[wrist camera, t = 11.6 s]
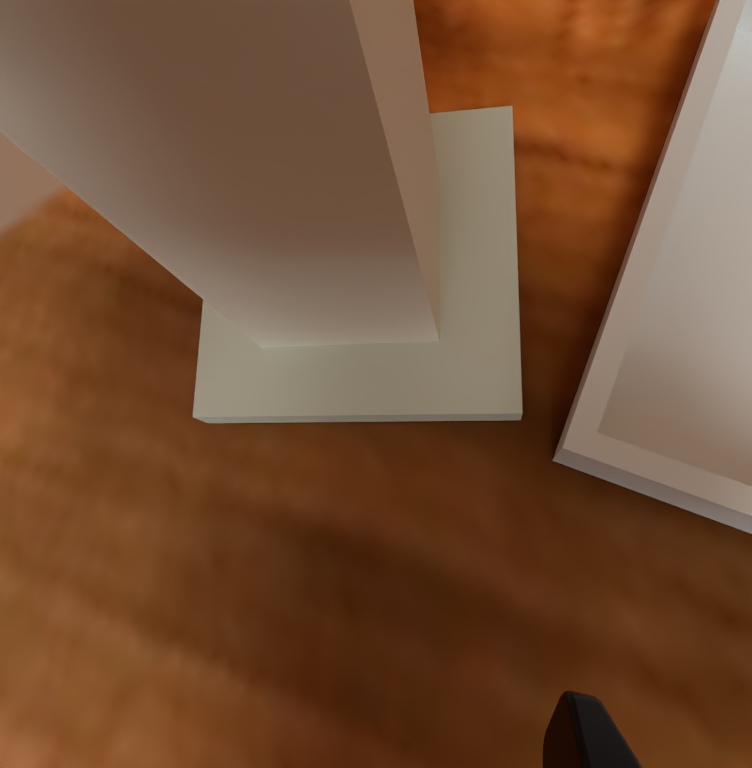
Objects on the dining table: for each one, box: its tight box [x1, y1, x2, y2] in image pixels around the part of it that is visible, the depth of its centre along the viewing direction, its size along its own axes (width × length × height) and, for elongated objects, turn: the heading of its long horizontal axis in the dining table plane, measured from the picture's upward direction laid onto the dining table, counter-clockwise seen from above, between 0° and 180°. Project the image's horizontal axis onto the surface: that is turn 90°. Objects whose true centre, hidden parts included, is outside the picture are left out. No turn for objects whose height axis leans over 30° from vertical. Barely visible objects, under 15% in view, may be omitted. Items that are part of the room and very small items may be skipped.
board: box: [193, 106, 523, 423], centre depth 18 cm, size 9×9×1 cm
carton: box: [0, 0, 440, 348], centre depth 12 cm, size 5×5×13 cm
